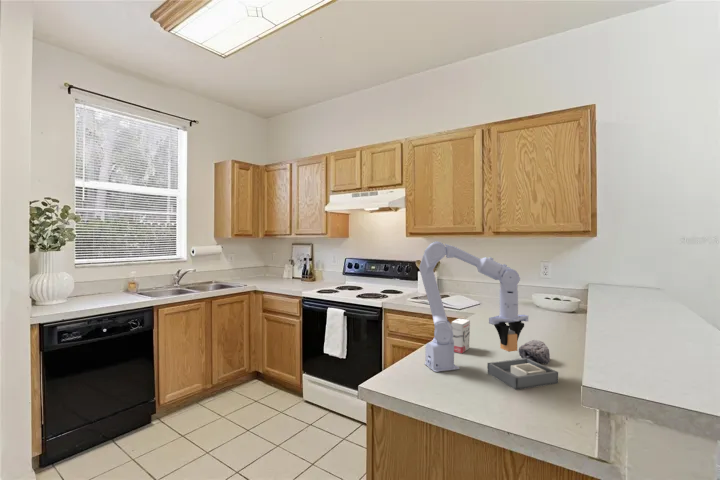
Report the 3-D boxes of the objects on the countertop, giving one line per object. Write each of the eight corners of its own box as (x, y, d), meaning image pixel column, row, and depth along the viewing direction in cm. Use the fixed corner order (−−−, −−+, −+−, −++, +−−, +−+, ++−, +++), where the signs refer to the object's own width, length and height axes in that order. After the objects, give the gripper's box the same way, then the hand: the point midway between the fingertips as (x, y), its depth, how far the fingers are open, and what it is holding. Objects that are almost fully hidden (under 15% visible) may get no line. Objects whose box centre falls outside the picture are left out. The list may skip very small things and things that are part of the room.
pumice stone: (526, 371, 121) (555, 365, 119) (520, 350, 121) (549, 344, 120) (518, 360, 131) (545, 354, 130) (513, 340, 132) (539, 335, 130)
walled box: (515, 389, 101) (515, 378, 101) (487, 373, 113) (487, 362, 113) (558, 383, 106) (558, 372, 105) (526, 368, 118) (526, 358, 118)
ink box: (462, 354, 132) (462, 323, 132) (450, 351, 135) (450, 321, 135) (470, 348, 139) (470, 319, 139) (458, 346, 142) (458, 317, 142)
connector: (508, 351, 112) (508, 332, 112) (500, 348, 116) (500, 329, 116) (517, 350, 113) (517, 331, 113) (508, 347, 117) (508, 328, 117)
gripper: (498, 307, 108) (499, 349, 108) (535, 304, 113) (535, 345, 113) (484, 303, 115) (484, 343, 115) (519, 300, 119) (519, 339, 119)
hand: (508, 343), depth 114 cm, fingers closed on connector, 3 cm apart
